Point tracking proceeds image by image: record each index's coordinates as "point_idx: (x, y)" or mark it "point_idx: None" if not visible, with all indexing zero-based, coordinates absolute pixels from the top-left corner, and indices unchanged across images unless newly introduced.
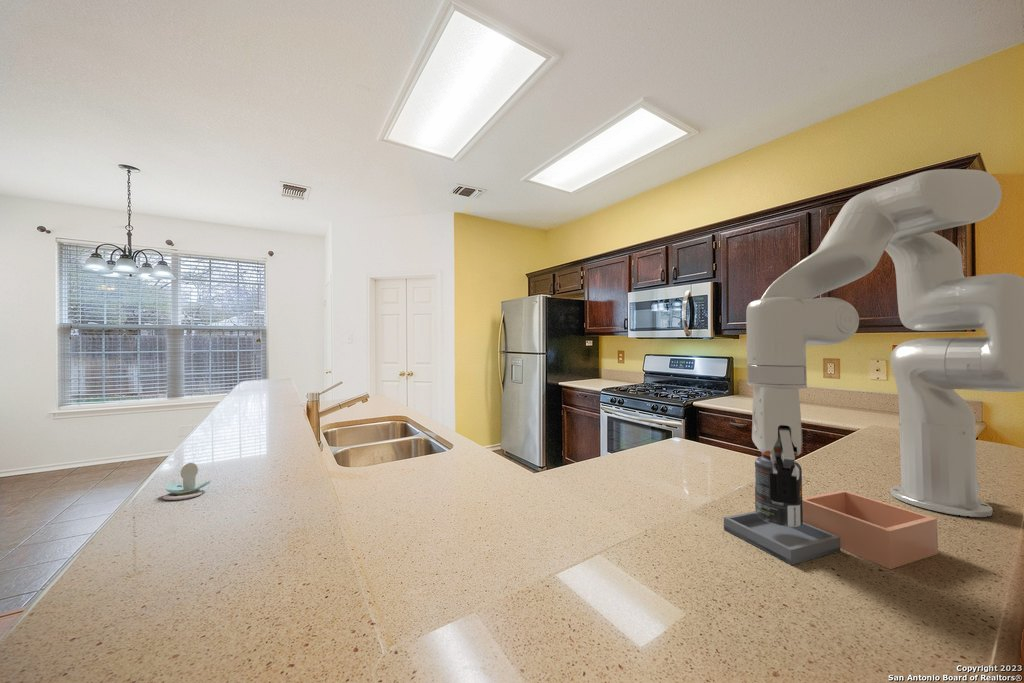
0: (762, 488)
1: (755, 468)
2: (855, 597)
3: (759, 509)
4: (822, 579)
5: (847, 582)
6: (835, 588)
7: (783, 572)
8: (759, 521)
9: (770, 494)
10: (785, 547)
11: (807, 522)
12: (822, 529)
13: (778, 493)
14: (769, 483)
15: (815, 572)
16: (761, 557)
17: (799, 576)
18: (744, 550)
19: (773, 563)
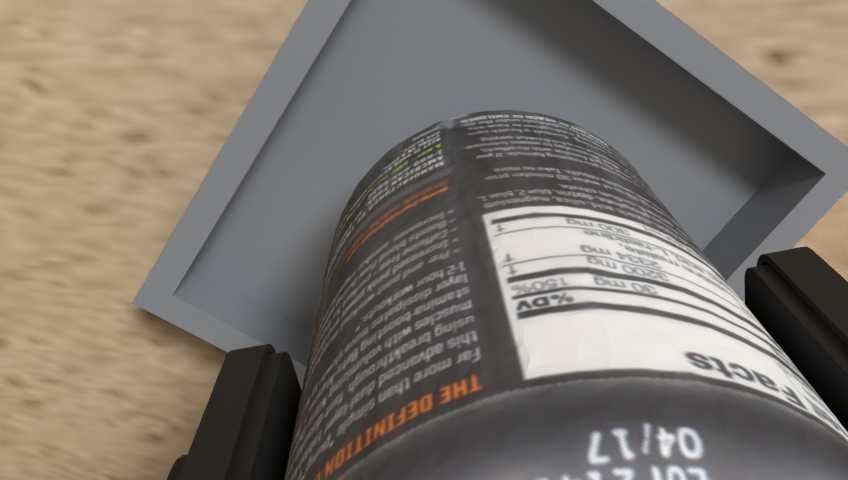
0: (344, 312)
1: (501, 368)
2: (59, 467)
3: (387, 171)
4: (122, 375)
5: (181, 454)
6: (75, 413)
7: (39, 226)
8: (688, 83)
9: (216, 381)
10: (148, 277)
11: None
12: None
13: (169, 476)
14: (217, 458)
15: (175, 353)
16: (133, 116)
17: (62, 291)
18: (151, 13)
19: (108, 179)
